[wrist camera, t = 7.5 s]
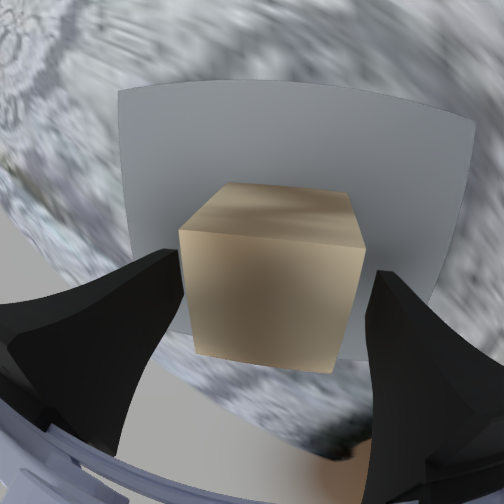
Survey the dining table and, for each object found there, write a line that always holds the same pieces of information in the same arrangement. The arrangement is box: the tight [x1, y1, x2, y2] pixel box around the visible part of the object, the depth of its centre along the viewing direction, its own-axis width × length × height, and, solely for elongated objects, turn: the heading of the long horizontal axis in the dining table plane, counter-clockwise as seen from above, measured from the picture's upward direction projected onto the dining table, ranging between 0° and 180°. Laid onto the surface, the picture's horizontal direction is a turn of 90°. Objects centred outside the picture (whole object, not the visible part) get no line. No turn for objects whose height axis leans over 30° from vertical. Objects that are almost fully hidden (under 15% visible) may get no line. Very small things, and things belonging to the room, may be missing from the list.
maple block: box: [179, 182, 366, 374], centre depth 11 cm, size 5×5×5 cm
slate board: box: [118, 80, 476, 361], centre depth 14 cm, size 16×14×1 cm
